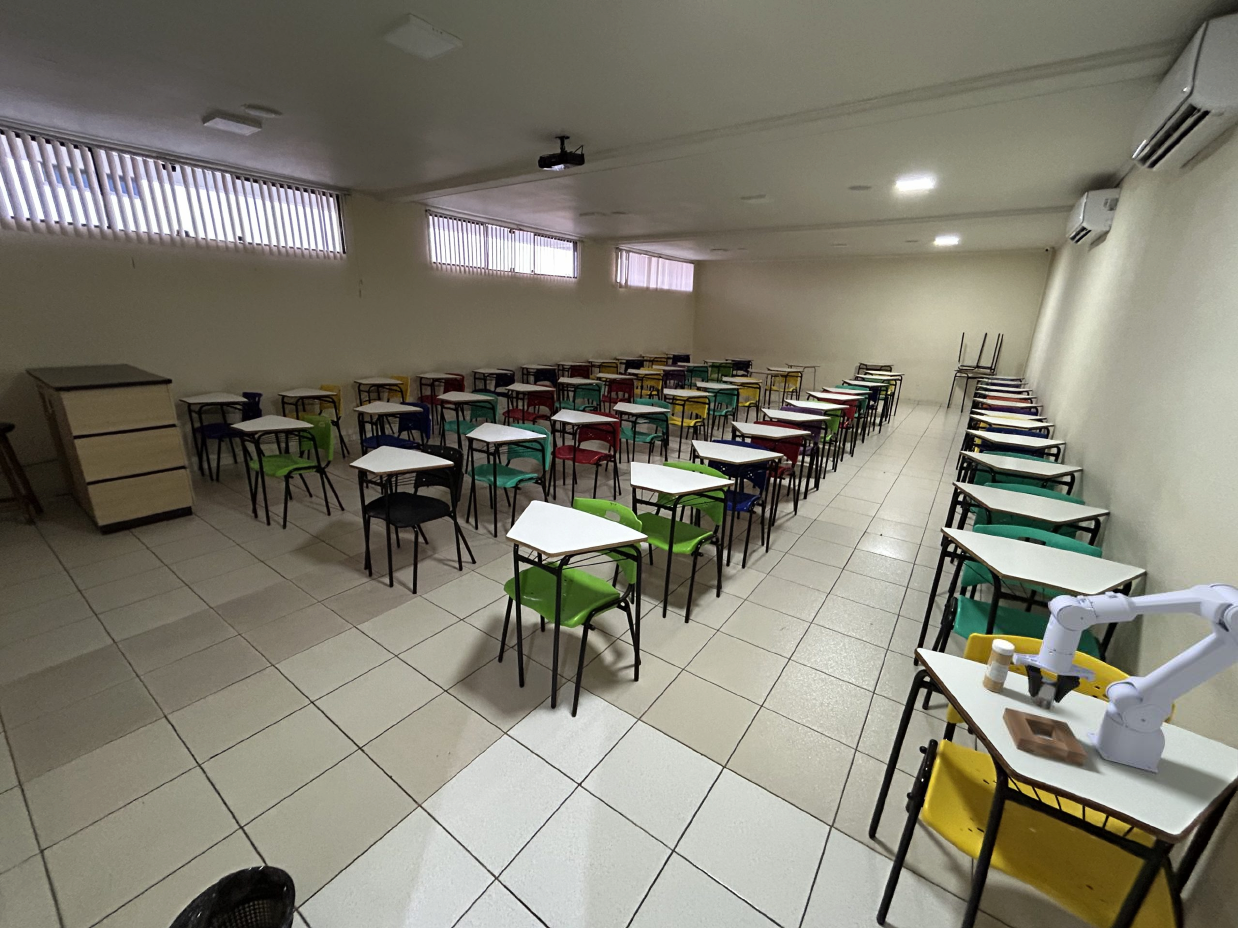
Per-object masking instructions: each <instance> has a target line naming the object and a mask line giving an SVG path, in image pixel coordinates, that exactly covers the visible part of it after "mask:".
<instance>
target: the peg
mask: <svg viewBox="0 0 1238 928" xmlns="http://www.w3.org/2000/svg"><path fill="white" fill-rule="evenodd" d="M1042 676H1043V679H1042V680H1041V682H1040V684H1039V686H1038V689H1037V693H1036V696H1035V697H1032V696H1031V695H1030V702H1031V703H1032V704H1033V705H1035V706H1036V707H1038V708H1041V709H1043V710H1052V709H1053V705H1054V703H1055V697H1056V693H1057V690H1058V687H1059V684H1058V683H1057V682H1056V681H1057V680H1055V679H1053V678H1050V677H1047V676H1045V675H1042Z"/></svg>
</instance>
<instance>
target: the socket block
mask: <svg viewBox="0 0 1238 928" xmlns="http://www.w3.org/2000/svg"><path fill="white" fill-rule="evenodd" d="M1003 711H1004V712H1003V715H1002V720H1003V722H1004V723H1005V726H1006V728H1007V730H1008V732H1009V733H1008V734H1010V736H1011V740H1012V741H1013V743H1014V747H1016V749H1017V750H1022V751H1024V752H1025V751H1026V752H1029V753H1032V754H1036V755H1040V756H1044V757H1048V758H1052V759H1055V760H1058V761H1062V762H1066V763H1069V764H1074V765H1078V766H1081V767H1083V766H1084V765H1085V761H1086V759H1087V756H1088V754H1087V753H1086V751H1085V750H1084V748H1083V746H1082V745H1081V743H1080V742H1079V740H1078V738H1077V737H1076V735H1075V734H1074V732H1073V730H1072V729H1071V728H1070V725H1069V724H1068V722H1066V721H1062V720H1058V719H1053V718H1049V717H1046V716H1042V715H1037V714H1033V713H1031V712H1030V713H1029V712H1025V711H1021V710H1016V709H1015V708H1014V709H1013V708H1010V707H1009V708H1008V707H1005V708H1004V710H1003ZM1033 732H1035V733H1039V734H1044V735H1047V736H1050V738H1051V739H1050V738H1046V737H1043V736H1039V735H1035V734H1034V733H1033Z"/></svg>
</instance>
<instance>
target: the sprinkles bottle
mask: <svg viewBox="0 0 1238 928" xmlns="http://www.w3.org/2000/svg"><path fill="white" fill-rule="evenodd" d="M1015 649H1016V647H1015V645H1014V644H1012V642H1009V641H1008V640H1004V639H1000V638H995V639H993V641H992V644H991V652H990V655H989V659H988V662H987V665H986V669H985V673H984V674H985V675H984V678H983V680H982V685H983V686H984V687H985V688H986V690H987V689H988V690H989V691H991V692H994V693H1002V692H1003V691H1004V686H1005V682H1006V681H1007V676H1008V673H1009V668H1010V665H1011V661H1012V659H1013V655H1014V653H1015V651H1016V650H1015Z"/></svg>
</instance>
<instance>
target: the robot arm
mask: <svg viewBox="0 0 1238 928" xmlns="http://www.w3.org/2000/svg"><path fill="white" fill-rule="evenodd" d="M1047 605H1048V606H1047V607H1048V609H1049V611H1050V613H1051V614H1050V617H1049V620H1048V623H1047V626H1046V628H1045V631H1044V636H1043V639H1042V642H1041V647H1040V649H1039V653H1038V654H1029V653H1028V654H1026V653H1025V654H1024V653H1017V652H1014V654H1013V655H1012V658H1011V661H1012V663H1014V665H1015V666H1021V665H1022V666H1024V669H1025V672H1026V675H1027V676H1026V677H1027V683H1028V686H1027V687H1028V688H1027V689H1028V691H1027V692H1028V694H1029V695H1030V697H1031V696H1032V697H1035V696H1036V693H1037V689H1038V686H1039V684H1040V682H1041V680H1042V679H1043V676H1044V675H1043V674H1042V670H1044V671H1047V672H1050V673H1052V674H1055V675H1057V676H1056V680H1055V681H1056V682H1057V683H1058V684H1059V687H1058V690H1057V693H1056V697H1055V700H1054V703H1056V704H1059V703H1061V701H1062V700H1063V699H1064V698H1065V697H1066V695H1068V694H1069V693H1070V692H1072V691H1073V690H1075V689H1077V688H1079V687H1080V686H1081V681H1080V678H1081V679H1085V680H1086V681H1088V682H1089V683H1090V682H1092V683H1094V681H1095V678H1096V676H1097V675H1096V674H1095V672H1094V671H1093V670H1092V669H1089V668H1086V667H1083V666H1081V665H1076V664H1074V663H1073V661H1074V659H1075V656H1076V652H1077V650H1078V646H1079V643H1080V639H1081V637H1082V634H1083V633H1082V632H1083V631H1084V630H1087V629H1088V628H1090V627H1091V626H1092V625H1096V624H1106V623H1108V624H1109V623H1119V622H1131V621H1133V620H1134V619H1135V618H1136V617H1137V616H1138V615H1157V614H1159V615H1160V614H1178V613H1179V614H1183V613H1184V614H1185V613H1192V614H1194V615H1196V616H1199V617H1201V618H1203V619H1206V620H1209V621H1210V623H1211V627H1212V631H1213V632H1212V633H1211V634H1209V635H1208V636H1207V637H1205V638H1204V639H1202V640H1200V641H1199V642H1197V643H1196V644H1194V645H1192V646H1191V647H1189V648H1188V649H1186V650H1185V651H1183V652H1182V653H1180V654H1178V655H1177V656H1175V657H1173V658H1172V659H1171V660H1169V661H1167V662H1166V663H1165V664H1162V666H1160V667H1158V668H1157V669H1155V670H1153V671H1152V672H1150V673H1149V674H1147V675H1145V676H1143V677H1141V676H1132V675H1131V676H1129V677H1127V678H1126V679H1123V680H1118V681H1113V682H1111V683H1109V685H1107V687H1106V689H1105V695H1106V697H1107V699H1108V700H1109V702H1108V706H1107V707H1106V709H1105V712H1104V714H1103V718H1102V720H1101V723H1100V727H1099V729H1098V732H1097V733H1095V732H1091V731H1090V732H1089V731H1088V732H1087V733H1086V734H1087V737H1088V738H1089V739H1090V741H1091V743H1092V745H1094V747H1095V749H1096V750H1097V752H1098V753H1099V755H1100V757H1102V759H1104V760H1107V761H1110V762H1114V763H1118V764H1122V765H1125V766H1130V767H1134V768H1138V769H1142V770H1146V771H1149V772H1154V773H1158V772H1159V770H1158V769H1157V767H1158V764H1159V762H1160V759H1161V757H1162V754H1163V752H1164V750H1165V748H1166V739H1165V734H1164V732H1163V730H1162V728H1161V727H1163V724H1164V722H1165V720H1167V719H1168V718H1170V717H1171V716H1172V713H1173V702H1174V701H1175V700H1178V699H1179V698H1180V697H1182V696H1184V695H1185V694H1188V692H1190V691H1192V690H1193V689H1195V688H1197V687H1199V686H1200V685H1202V684H1203V683H1205V682H1207V681H1209V680H1210V679H1212V678H1214V677H1215V676H1217V675H1219V674H1220V673H1222V672H1223V671H1225V670H1227V669H1228V668H1231V666H1233V665H1235V664H1237V663H1238V588H1237V587H1236V586H1234V585H1232V584H1229V583H1223V582H1218V583H1217V582H1216V583H1211V584H1197V585H1195V586H1192V587H1191V588H1188V589H1183V590H1175V591H1168V592H1162V593H1161V592H1160V593H1154V594H1148V595H1147V594H1146V595H1141V596H1134V597H1133V596H1132V597H1130V596H1127V595H1124V594H1123V593H1120V592H1118V593H1115V592H1113V591H1105V594H1098V595H1087V596H1084V595H1077V596H1076V597H1075V596H1071V595H1069V594H1062V595H1058V596H1056V597H1054V598H1053V599H1052V600H1051V601H1048V603H1047Z"/></svg>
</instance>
